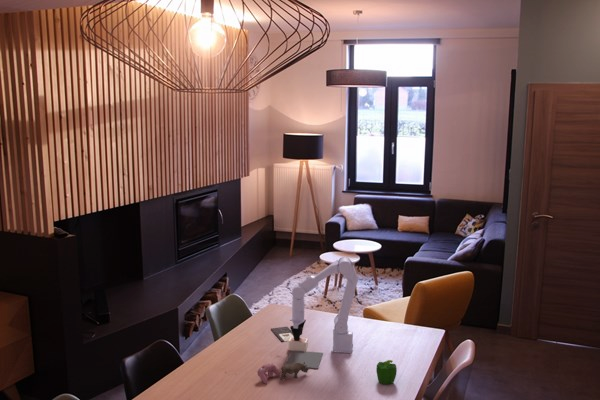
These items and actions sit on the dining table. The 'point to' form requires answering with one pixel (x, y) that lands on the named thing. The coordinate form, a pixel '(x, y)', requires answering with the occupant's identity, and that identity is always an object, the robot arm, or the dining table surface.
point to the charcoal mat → (305, 358)
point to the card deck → (298, 344)
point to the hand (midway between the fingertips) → (298, 337)
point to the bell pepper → (386, 372)
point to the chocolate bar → (283, 333)
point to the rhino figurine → (293, 369)
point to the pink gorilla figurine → (270, 369)
